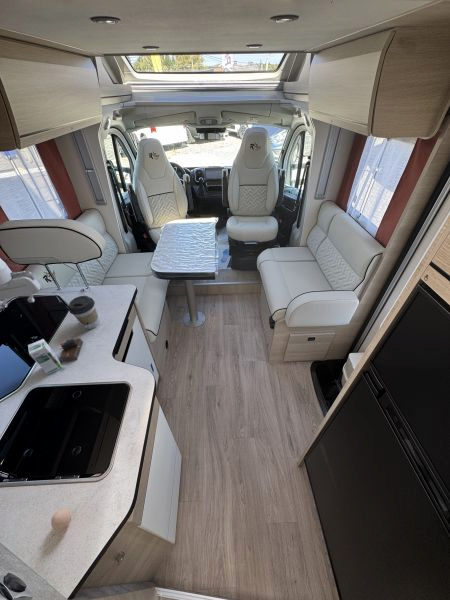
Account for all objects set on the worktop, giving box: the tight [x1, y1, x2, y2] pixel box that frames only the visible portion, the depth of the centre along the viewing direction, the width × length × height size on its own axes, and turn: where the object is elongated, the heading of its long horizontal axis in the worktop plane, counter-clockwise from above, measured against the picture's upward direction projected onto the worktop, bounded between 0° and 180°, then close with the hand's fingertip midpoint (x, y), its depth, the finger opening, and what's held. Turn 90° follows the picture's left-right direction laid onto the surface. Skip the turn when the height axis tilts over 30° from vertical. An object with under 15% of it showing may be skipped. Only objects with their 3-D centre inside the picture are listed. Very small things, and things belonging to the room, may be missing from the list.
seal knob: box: [60, 338, 77, 351], centre depth 111 cm, size 5×2×4 cm, turn 129°
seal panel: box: [59, 337, 84, 363], centre depth 114 cm, size 10×9×3 cm
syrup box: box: [27, 338, 63, 376], centre depth 104 cm, size 6×6×14 cm
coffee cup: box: [67, 295, 100, 330], centre depth 122 cm, size 11×11×15 cm
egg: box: [50, 508, 72, 531], centre depth 69 cm, size 4×4×6 cm
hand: (19, 304), depth 99 cm, fingers open, 8 cm apart
